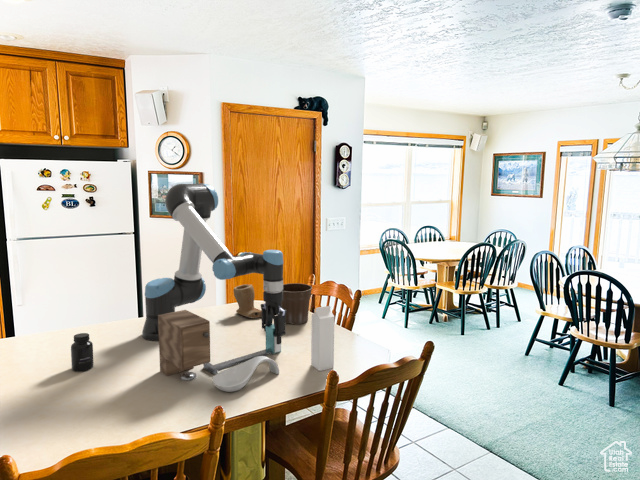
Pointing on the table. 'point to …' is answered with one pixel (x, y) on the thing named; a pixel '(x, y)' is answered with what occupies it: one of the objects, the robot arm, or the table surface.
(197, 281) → the robot arm
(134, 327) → the table surface
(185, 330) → the low cabinet
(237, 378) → the spoon rest
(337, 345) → the table surface
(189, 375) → the steel token
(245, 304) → the brown boot
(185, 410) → the table surface
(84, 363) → the supplement bottle
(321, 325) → the milk
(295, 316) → the plant pot
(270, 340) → the scraper
